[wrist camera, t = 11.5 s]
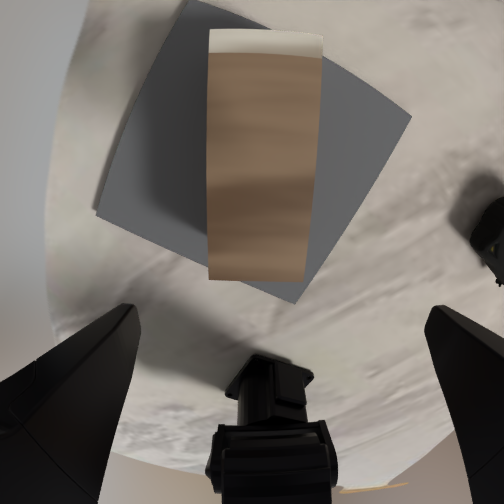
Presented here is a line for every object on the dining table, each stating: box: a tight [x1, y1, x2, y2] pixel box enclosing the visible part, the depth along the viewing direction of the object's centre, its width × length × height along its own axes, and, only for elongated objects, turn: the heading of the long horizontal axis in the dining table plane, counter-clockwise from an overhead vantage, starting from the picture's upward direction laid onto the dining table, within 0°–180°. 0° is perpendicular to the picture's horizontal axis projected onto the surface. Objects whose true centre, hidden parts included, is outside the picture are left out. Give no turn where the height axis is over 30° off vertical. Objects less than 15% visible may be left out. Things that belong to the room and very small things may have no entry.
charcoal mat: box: [96, 0, 412, 304], centre depth 19 cm, size 16×16×1 cm
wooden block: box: [206, 29, 323, 282], centre depth 16 cm, size 5×5×12 cm
